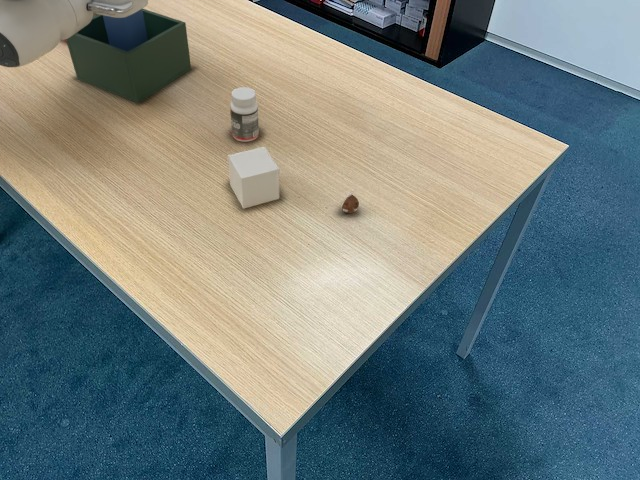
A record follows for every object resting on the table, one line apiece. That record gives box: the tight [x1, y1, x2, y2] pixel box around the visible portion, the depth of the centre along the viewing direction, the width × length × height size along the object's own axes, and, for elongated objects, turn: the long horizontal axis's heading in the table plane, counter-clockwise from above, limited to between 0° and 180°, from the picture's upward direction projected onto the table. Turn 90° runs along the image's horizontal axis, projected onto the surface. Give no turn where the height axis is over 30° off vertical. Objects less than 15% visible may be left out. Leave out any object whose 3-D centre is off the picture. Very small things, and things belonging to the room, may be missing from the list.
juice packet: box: [103, 9, 148, 52], centre depth 103 cm, size 4×6×15 cm
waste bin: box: [65, 8, 192, 104], centre depth 106 cm, size 16×16×10 cm
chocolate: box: [340, 189, 360, 214], centre depth 83 cm, size 3×2×4 cm
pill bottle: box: [229, 86, 260, 143], centre depth 94 cm, size 5×5×8 cm
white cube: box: [227, 146, 280, 210], centre depth 84 cm, size 6×6×6 cm
